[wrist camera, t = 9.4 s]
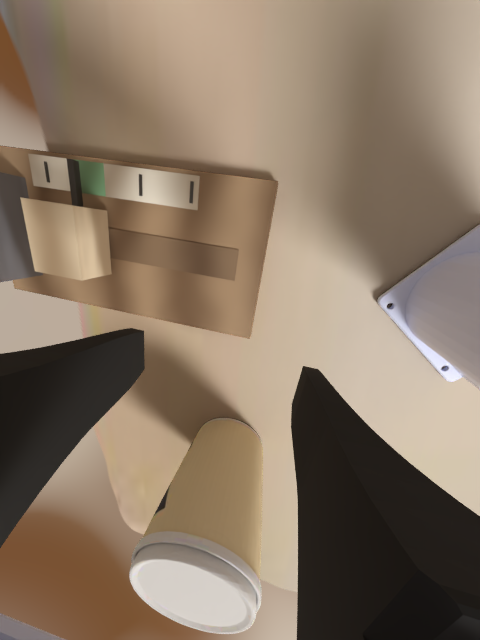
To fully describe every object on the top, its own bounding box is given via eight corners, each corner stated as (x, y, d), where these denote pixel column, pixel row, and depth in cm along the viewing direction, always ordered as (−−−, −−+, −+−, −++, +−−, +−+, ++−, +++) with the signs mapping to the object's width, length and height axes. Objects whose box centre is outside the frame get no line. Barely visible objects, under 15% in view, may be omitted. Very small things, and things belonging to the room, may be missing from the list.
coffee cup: (181, 412, 25) (103, 547, 14) (262, 409, 23) (243, 567, 12) (202, 471, 28) (150, 622, 17) (276, 474, 26) (271, 648, 15)
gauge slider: (103, 165, 16) (66, 150, 14) (111, 274, 19) (81, 280, 16) (56, 159, 17) (9, 143, 14) (70, 266, 20) (34, 271, 17)
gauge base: (278, 184, 16) (276, 163, 11) (251, 334, 20) (241, 362, 16) (-6, 147, 19) (-99, 118, 14) (25, 286, 23) (-39, 298, 19)
